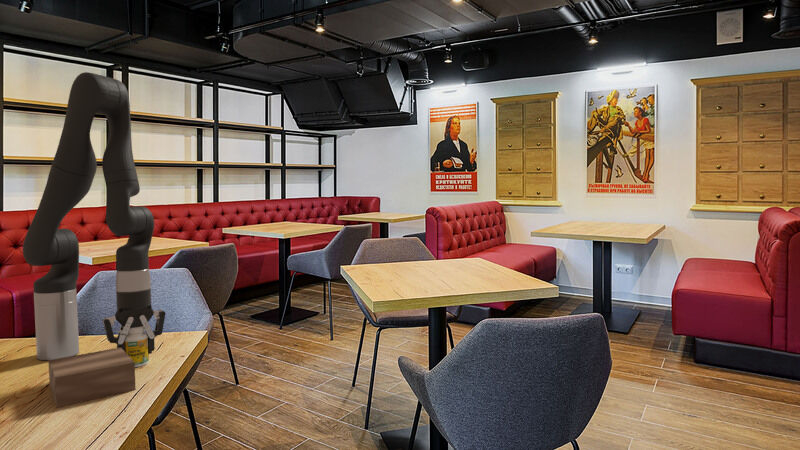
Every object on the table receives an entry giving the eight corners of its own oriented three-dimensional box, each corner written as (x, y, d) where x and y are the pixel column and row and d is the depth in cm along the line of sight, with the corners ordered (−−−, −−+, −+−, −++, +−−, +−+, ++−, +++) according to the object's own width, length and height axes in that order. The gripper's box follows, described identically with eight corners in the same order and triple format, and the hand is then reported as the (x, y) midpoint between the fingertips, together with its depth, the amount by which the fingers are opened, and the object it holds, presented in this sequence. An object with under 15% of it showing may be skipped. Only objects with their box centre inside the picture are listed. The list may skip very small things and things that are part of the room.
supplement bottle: (147, 359, 127) (146, 322, 127) (150, 365, 123) (148, 326, 122) (123, 363, 124) (121, 325, 124) (125, 369, 120) (123, 330, 119)
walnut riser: (49, 387, 109) (48, 360, 109) (121, 372, 118) (120, 347, 118) (56, 407, 98) (55, 377, 98) (135, 389, 107) (134, 362, 107)
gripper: (160, 282, 130) (163, 346, 131) (97, 289, 121) (100, 358, 122) (169, 286, 124) (171, 353, 125) (102, 293, 115) (105, 366, 116)
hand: (136, 355), depth 124 cm, fingers closed on supplement bottle, 5 cm apart
